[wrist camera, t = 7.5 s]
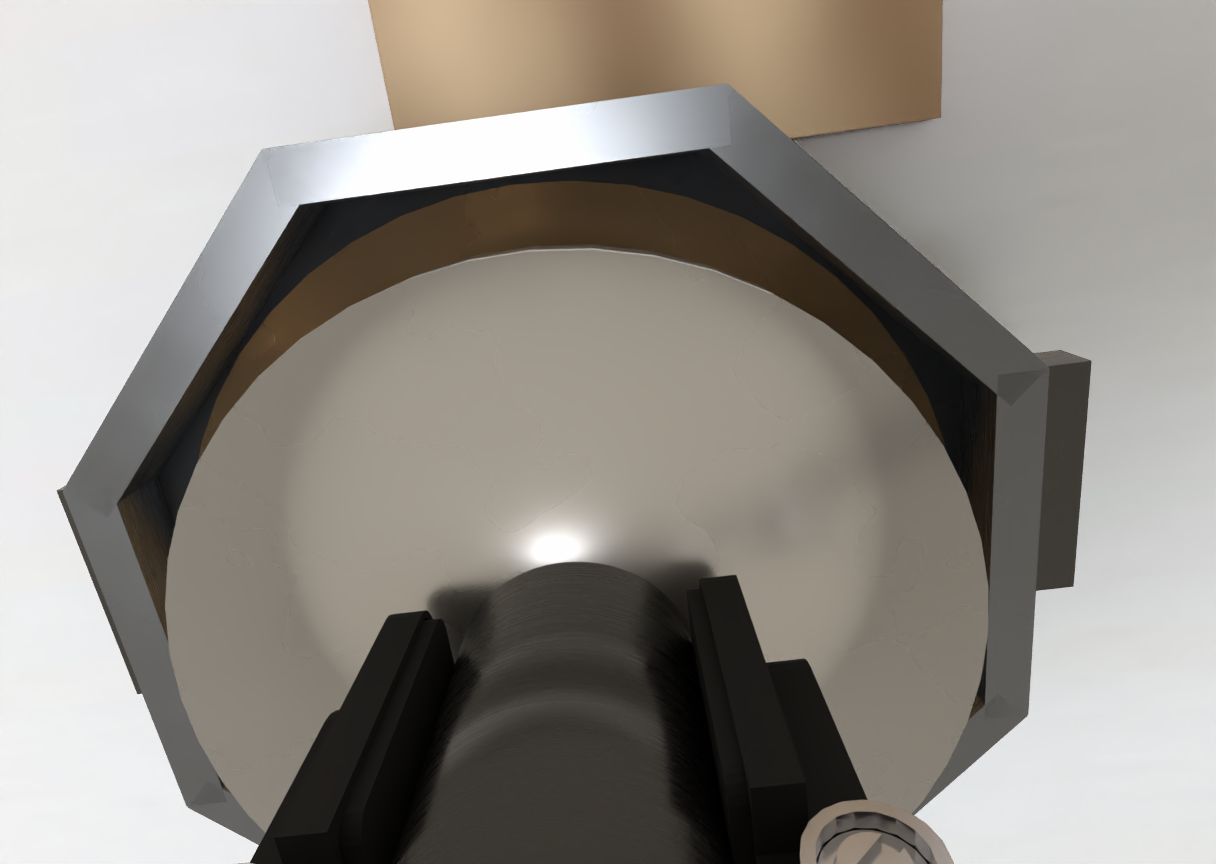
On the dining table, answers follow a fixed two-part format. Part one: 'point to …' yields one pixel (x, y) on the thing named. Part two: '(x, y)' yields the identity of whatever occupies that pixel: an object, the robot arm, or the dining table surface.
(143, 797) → the dining table surface
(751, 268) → the stockpot
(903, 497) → the lid
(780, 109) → the plate
